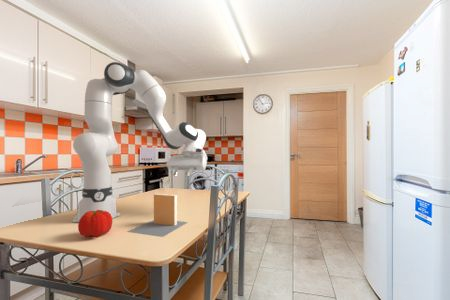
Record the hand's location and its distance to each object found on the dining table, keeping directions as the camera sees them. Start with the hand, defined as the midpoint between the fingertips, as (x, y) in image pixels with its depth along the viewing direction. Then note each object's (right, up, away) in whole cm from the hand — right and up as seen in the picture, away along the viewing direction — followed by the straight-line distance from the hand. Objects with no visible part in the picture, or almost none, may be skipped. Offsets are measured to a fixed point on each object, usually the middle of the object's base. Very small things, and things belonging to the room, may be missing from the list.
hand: (180, 175), depth 107 cm
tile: (-4, -19, -12) cm, 23 cm away
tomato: (-26, -19, -24) cm, 40 cm away
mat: (-5, -19, -16) cm, 25 cm away
